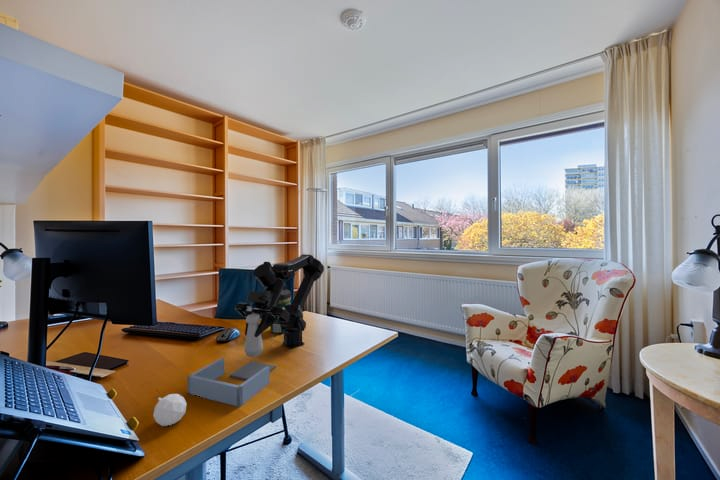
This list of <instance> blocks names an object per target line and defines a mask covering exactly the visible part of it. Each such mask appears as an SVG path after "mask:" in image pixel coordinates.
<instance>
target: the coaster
mask: <svg viewBox="0 0 720 480" xmlns="http://www.w3.org/2000/svg"><path fill="white" fill-rule="evenodd" d="M266 366H268V367H269V373H271V372H272V371H273V370H275V369H276V368H277V366H276V365H273V364H268V363H263V362H258V361H252V360H251V361H250V362H248V363H246V364H245V365H243V366H242V367H239V368H238V369H237V370H235V371H233V372H231V373H230V374H229V377H230V378H234V379H239V380H243V381H246V380H248V379H249V378H251V377H252V376H253V375H255V374H256V373H258V372H259V371H261V370H262V369H263V368H265V367H266Z"/></svg>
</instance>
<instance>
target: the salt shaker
mask: <svg viewBox="0 0 720 480" xmlns="http://www.w3.org/2000/svg"><path fill="white" fill-rule="evenodd" d="M245 318H246V319H245V321H246V322H247V323H249V324H248V329H247V335H245V336H246V337H245V341H244V345H243V346H244V347H243V349H244V353H245V354H246V356H247V357H250V358H254V357H259V355H261V354H262V351H263V348H264V344H263V337H262V333H261V334H260V335H259V336H258V337H255V336H254V335H255V332H256V330H257V328H258V326H259V324H260V322H261V314H250V315H248V316H247V317H245Z"/></svg>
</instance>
